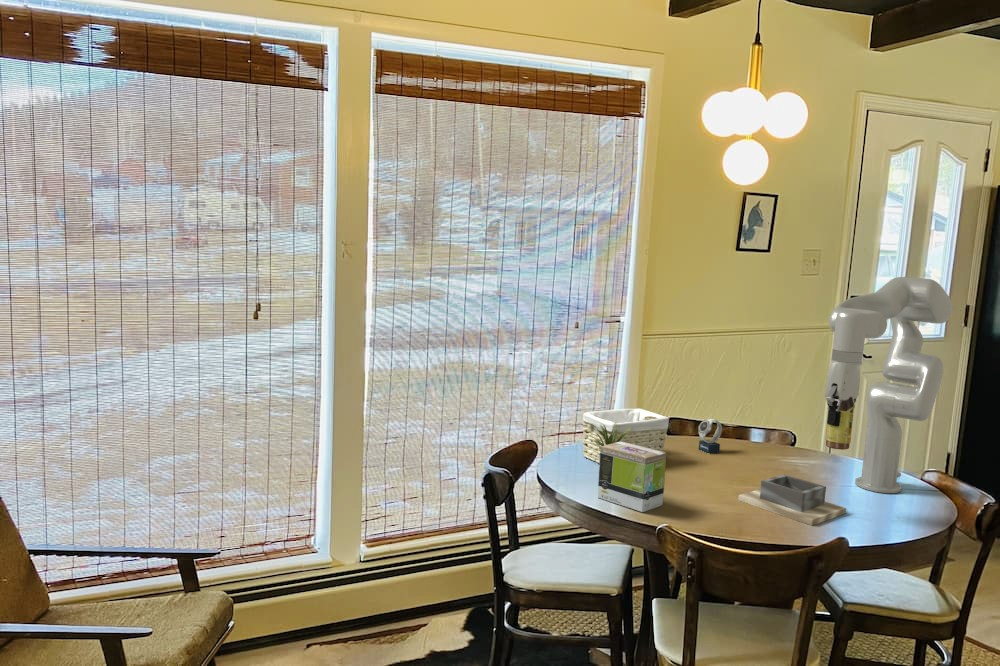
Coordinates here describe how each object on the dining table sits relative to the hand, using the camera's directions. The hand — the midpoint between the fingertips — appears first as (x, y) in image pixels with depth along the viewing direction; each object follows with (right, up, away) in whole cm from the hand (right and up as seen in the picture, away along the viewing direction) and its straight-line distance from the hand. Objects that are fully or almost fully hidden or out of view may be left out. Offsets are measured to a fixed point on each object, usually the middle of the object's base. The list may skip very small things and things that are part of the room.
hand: (839, 423), depth 215 cm
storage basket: (-51, -17, +42) cm, 68 cm away
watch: (-20, -16, +56) cm, 62 cm away
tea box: (-56, -22, +2) cm, 60 cm away
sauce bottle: (0, -7, +1) cm, 7 cm away
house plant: (-60, -18, +24) cm, 67 cm away
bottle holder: (-11, -23, +4) cm, 26 cm away
